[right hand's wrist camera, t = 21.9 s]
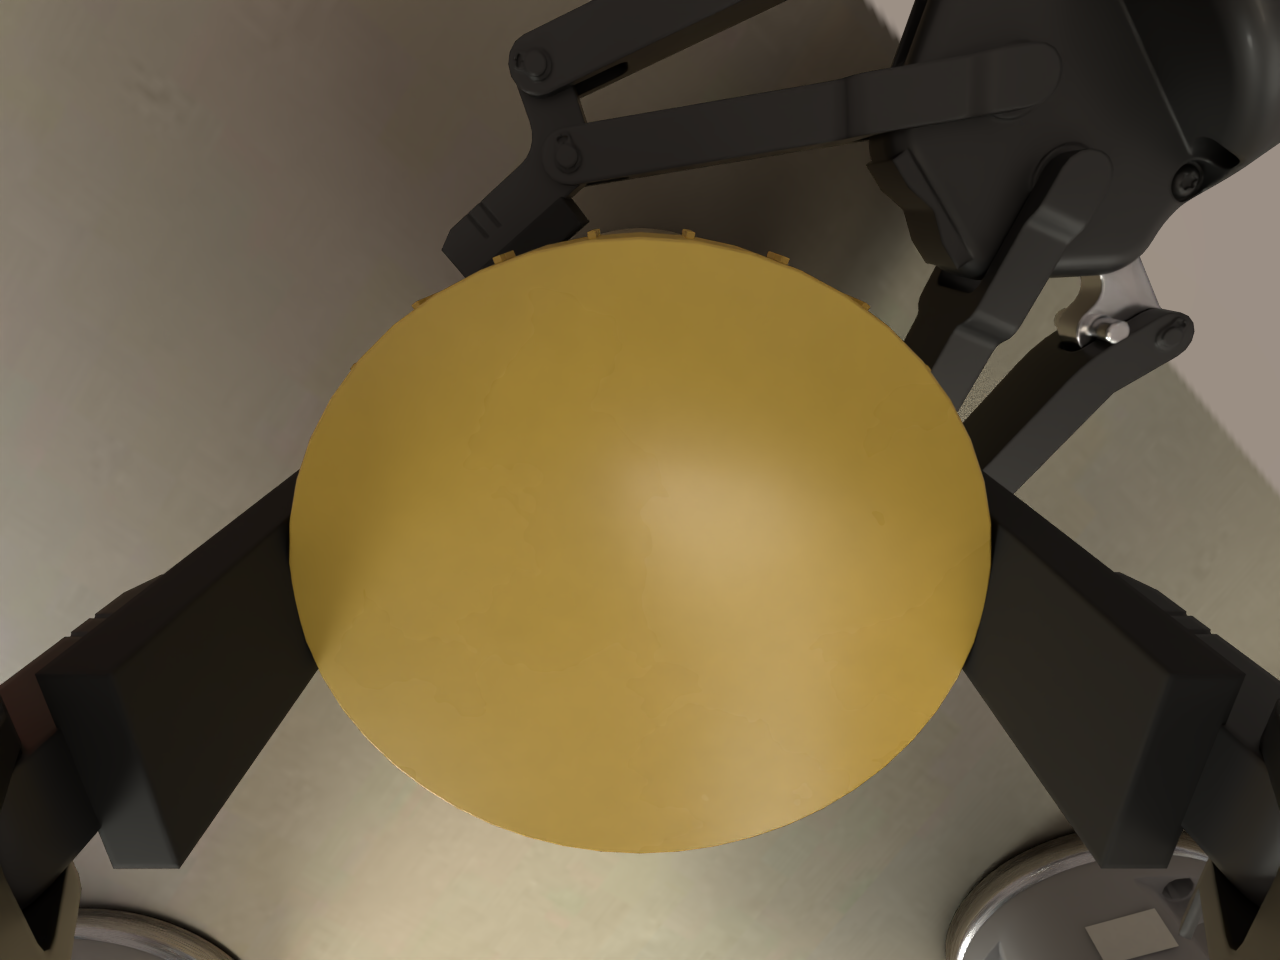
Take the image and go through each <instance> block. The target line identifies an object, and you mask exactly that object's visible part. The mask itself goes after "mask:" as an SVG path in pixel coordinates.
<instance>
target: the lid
mask: <svg viewBox="0 0 1280 960" xmlns="http://www.w3.org/2000/svg"><path fill="white" fill-rule="evenodd" d="M587 235H588V237H583V238H578V239H574V240H569V241H564V242H559V243H555V244H550V245H546V246H543V247H540V248H537V249H535V250H532V251H529V252H526V253H524V254H521V255H518V256H516V255H515V253H514V251H510V252H507V253H504V254H501V255H498V256H496V257H493V261H494V263H495V264H494V265H492V266H489V267H487V268H484V269H482V270H480V271H478V272H476V273H474V274H472V275H470V276H468V277H466V278H465V279H463V280H461V281H459V282H457V283H455V284H453V285H451V286H450V287H448V288H446V289H444V290H442V291H440V292H438V293H435V294H433V295H431V296H428V297H426V298H423V299H421V300H419V301H417V302H415V303H414V304H413V305H412V307H413V308H414V310H413V311H412V312H410V313H409V314H408V315H406V316H405V317H404V318H402V319H401V320H399V321H398V322H397V323H395V324H394V325H393V326H392V327H391V328H390V329H389V330H388V331H387V332H386V333H385V334H384V335H383V336H382V337H381V338H380V339H379V340H378V341H377V342H376V343H375V344H374V345H373V346H372V347H371V348H370V349H369V350H368V351H367V352H366V353H365V354H364V355H363V356H362V357H361V358H360V359H359V360H358V362H356V363H355V364H353V366H352V367H351V368H350V369H351V371H350V372H349V374H348V375H347V377H346V378H345V379H344V381H343V382H342V383H341V385H340V386H339V388H338V389H337V390H336V392H335V393H334V394H333V396H332V397H331V399H330V401H329V403H328V405H327V407H326V408H325V410H324V412H323V414H322V416H321V418H320V420H319V422H318V424H317V426H316V428H315V430H314V432H313V434H312V436H311V438H310V440H309V443H308V446H307V449H306V452H305V455H304V459H303V462H302V465H301V468H300V471H299V474H298V477H297V480H296V486H295V492H294V498H293V504H292V510H291V516H290V529H289V566H290V573H291V580H292V586H293V591H294V596H295V601H296V605H297V609H298V614H299V618H300V622H301V626H302V629H303V633H304V636H305V639H306V642H307V644H308V647H309V649H310V651H311V653H312V655H313V658H314V660H315V662H316V664H317V666H318V669H319V671H320V673H321V675H322V677H323V679H324V680H325V682H326V684H327V685H328V687H329V688H330V690H331V692H332V693H333V695H334V696H335V698H336V700H337V701H338V703H339V704H340V706H341V708H342V709H343V710H344V712H345V713H346V714H347V715H348V717H349V718H350V719H351V720H352V721H353V723H354V724H355V725H356V726H357V728H358V729H359V730H360V731H361V733H362V734H363V735H364V736H365V737H366V739H367V740H368V741H369V742H370V743H372V744H373V745H374V746H375V747H376V748H377V749H378V750H379V751H380V752H381V753H382V754H383V755H384V756H385V757H386V758H387V759H388V760H389V761H390V762H391V763H392V764H393V765H394V766H396V767H397V768H398V769H400V770H401V771H402V772H404V773H405V774H406V775H407V776H409V777H410V778H411V779H413V780H414V781H415V782H417V783H418V784H419V785H421V786H422V787H423V788H424V789H426V790H428V791H429V792H431V793H433V794H434V795H436V796H438V797H439V798H441V799H443V800H444V801H446V802H448V803H449V804H451V805H453V806H454V807H456V808H458V809H460V810H462V811H464V812H466V813H468V814H470V815H473V816H475V817H477V818H479V819H481V820H483V821H485V822H487V823H490V824H492V825H495V826H498V827H500V828H503V829H506V830H509V831H512V832H515V833H517V834H520V835H523V836H526V837H530V838H534V839H538V840H542V841H546V842H550V843H554V844H558V845H562V846H568V847H575V848H582V849H588V850H595V851H603V852H624V853H657V852H678V851H685V850H692V849H699V848H706V847H713V846H718V845H722V844H726V843H731V842H735V841H739V840H743V839H747V838H751V837H754V836H757V835H760V834H763V833H766V832H769V831H772V830H775V829H777V828H780V827H783V826H786V825H789V824H791V823H793V822H795V821H797V820H799V819H802V818H804V817H806V816H808V815H810V814H812V813H814V812H817V811H819V810H821V809H823V808H825V807H826V806H828V805H830V804H831V803H833V802H835V801H836V800H838V799H840V798H841V797H843V796H845V795H846V794H848V793H850V792H851V791H853V790H855V789H856V788H857V787H859V786H860V785H861V784H863V783H864V782H865V781H867V780H868V779H869V778H870V777H872V776H873V775H874V774H876V773H877V772H878V771H880V770H881V769H882V768H884V767H885V766H886V765H887V764H888V763H889V762H890V761H891V760H892V759H893V758H894V757H896V756H897V755H898V754H899V753H900V752H901V751H902V750H903V749H904V748H905V747H906V746H907V745H908V744H909V743H910V742H911V741H912V740H913V739H914V738H915V737H916V736H917V734H918V733H919V732H920V731H921V729H922V728H923V727H924V726H925V725H926V723H927V722H928V721H929V720H930V719H931V717H932V716H933V715H934V714H935V712H936V711H937V710H938V708H939V707H940V705H941V704H942V702H943V700H944V699H945V697H946V696H947V694H948V693H949V691H950V689H951V688H952V686H953V685H954V683H955V681H956V680H957V678H958V676H959V674H960V672H961V670H962V668H963V665H964V663H965V661H966V659H967V657H968V655H969V652H970V650H971V648H972V646H973V644H974V641H975V638H976V634H977V631H978V628H979V624H980V620H981V616H982V612H983V608H984V603H985V599H986V594H987V589H988V584H989V577H990V570H991V520H990V513H989V507H988V501H987V495H986V488H985V482H984V478H983V475H982V472H981V469H980V466H979V463H978V460H977V457H976V454H975V451H974V448H973V445H972V442H971V439H970V437H969V435H968V433H967V431H966V429H965V427H964V425H963V423H962V421H961V419H960V417H959V415H958V413H957V411H956V409H955V407H954V405H953V403H952V401H951V399H950V398H949V397H948V395H947V394H946V392H945V391H944V390H943V388H942V387H941V386H940V384H939V383H938V381H937V380H936V379H935V377H934V376H933V374H932V373H931V372H930V371H931V369H930V368H929V366H928V365H926V364H925V363H924V362H923V361H922V360H921V359H920V358H919V357H918V356H917V355H916V354H915V353H914V352H913V351H912V350H911V349H910V348H909V347H908V346H907V345H906V343H905V342H904V341H903V340H902V339H901V338H900V337H899V336H898V335H897V334H896V333H895V332H894V331H893V330H892V329H891V328H890V327H889V326H888V325H886V324H885V323H884V322H882V321H881V320H880V319H878V318H877V317H876V316H874V315H873V314H872V313H870V312H869V311H868V310H869V308H870V306H869V305H868V304H867V303H865V302H863V301H861V300H858V299H856V298H854V297H851V296H849V295H847V294H844V293H842V292H840V291H838V290H836V289H834V288H833V287H831V286H829V285H827V284H825V283H823V282H822V281H820V280H818V279H816V278H814V277H812V276H810V275H809V274H807V273H805V272H803V271H801V270H799V269H796V268H794V267H791V266H789V265H787V264H788V262H789V260H790V259H789V258H787V257H785V256H782V255H779V254H776V253H773V252H770V251H769V252H768V254H767V257H765V256H762V255H760V254H757V253H754V252H751V251H749V250H746V249H743V248H740V247H738V246H735V245H730V244H726V243H721V242H716V241H712V240H707V239H702V238H698V237H695V232H693V231H691V230H687V229H683V230H682V235H673V234H660V233H646V232H636V233H621V234H606V235H601V234H600V229H593V230H591V231H589V232H587Z"/></svg>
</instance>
